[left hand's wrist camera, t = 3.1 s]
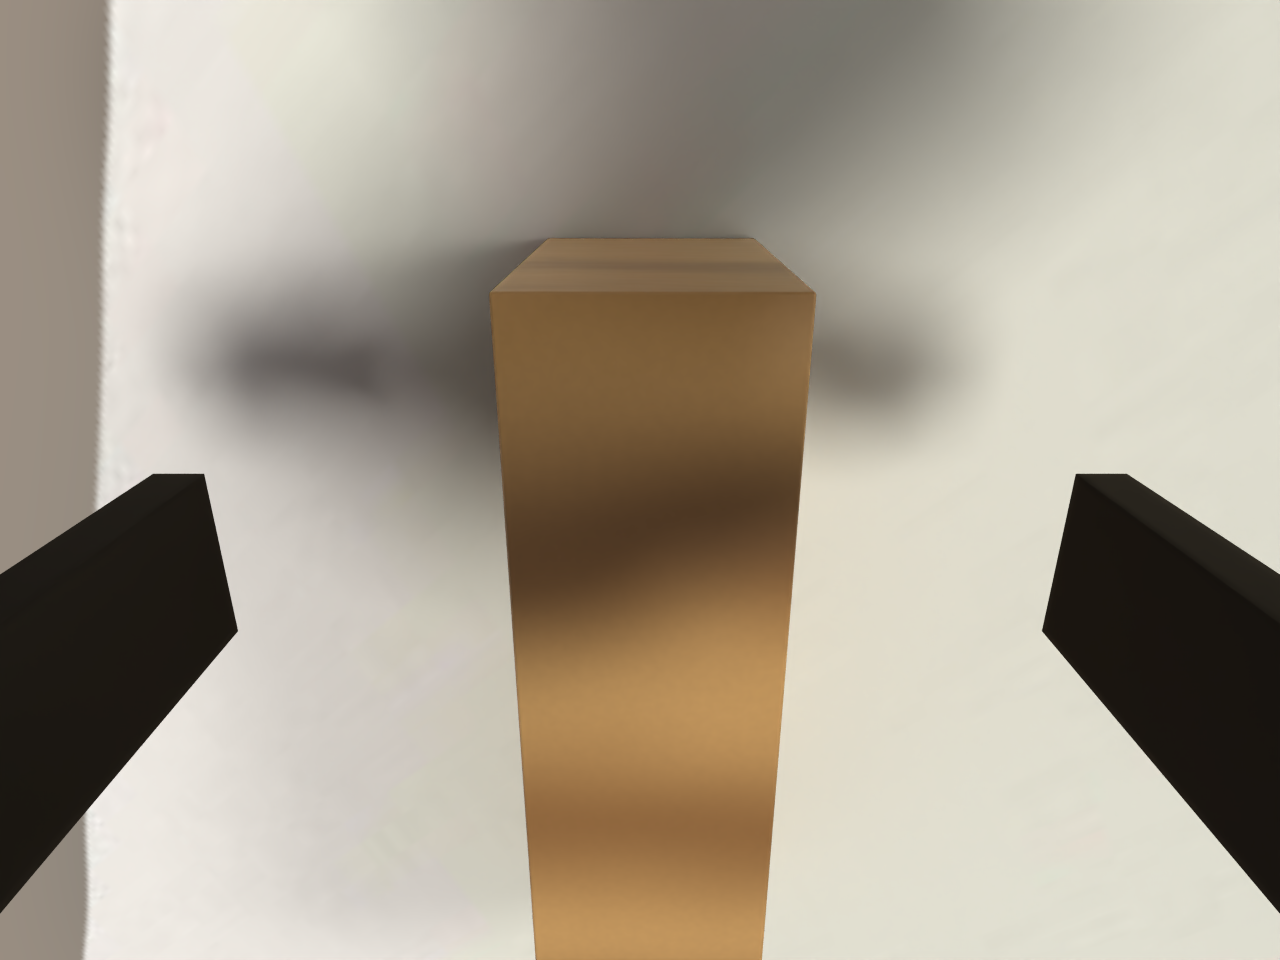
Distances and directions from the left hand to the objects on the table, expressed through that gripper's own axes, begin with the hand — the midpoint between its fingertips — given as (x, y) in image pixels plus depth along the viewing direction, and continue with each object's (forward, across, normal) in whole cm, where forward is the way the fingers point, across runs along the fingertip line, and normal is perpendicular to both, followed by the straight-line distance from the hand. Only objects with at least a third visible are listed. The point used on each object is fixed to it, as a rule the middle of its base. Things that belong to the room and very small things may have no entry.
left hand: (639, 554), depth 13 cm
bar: (+12, 0, -8) cm, 14 cm away
